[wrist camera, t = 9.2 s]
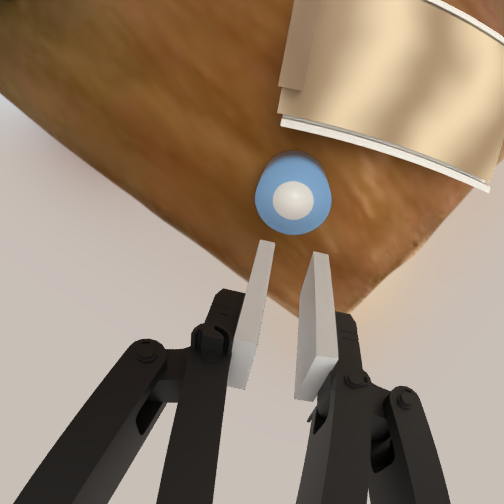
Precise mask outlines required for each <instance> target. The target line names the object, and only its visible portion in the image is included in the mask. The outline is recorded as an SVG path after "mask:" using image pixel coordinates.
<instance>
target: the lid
mask: <svg viewBox="0 0 504 504" xmlns="http://www.w3.org/2000/svg"><path fill="white" fill-rule="evenodd" d="M278 86H280V87H282V90H281V96H280V101H279V106H278V111H277V113H280V114H285V115H290V116H295V117H299V118H304V119H308V120H313V121H317V122H321V123H325V124H329V125H333V126H337V127H340V128H344V129H348V130H351V131H355V132H358V133H362V134H365V135H368V136H372V137H375V138H378V139H381V140H384V141H388V142H391V143H394V144H397V145H399V146H402V147H405V148H408V149H411V150H414V151H416V152H419V153H422V154H424V155H427V156H430V157H432V158H435V159H437V160H440V161H442V162H445V163H447V164H450V165H452V166H454V167H457V168H459V169H461V170H464V171H466V172H468V173H470V174H473V175H475V176H477V177H479V178H481V179H483V180H485V181H488V182H490V181H491V178H492V175H493V172H494V169H495V166H496V163H497V160H498V157H499V153H500V150H501V147H502V143H503V139H504V46H503V45H501V44H500V43H498V42H497V41H495V40H494V39H492V38H491V37H489V36H487V35H486V34H484V33H483V32H481V31H479V30H478V29H476V28H474V27H472V26H471V25H469V24H467V23H465V22H464V21H462V20H460V19H458V18H456V17H454V16H452V15H450V14H449V13H447V12H445V11H442V10H440V9H438V8H436V7H434V6H432V5H430V4H428V3H425V2H423V1H421V0H294V5H293V11H292V16H291V21H290V26H289V31H288V36H287V42H286V47H285V52H284V57H283V63H282V68H281V73H280V78H279V84H278Z"/></svg>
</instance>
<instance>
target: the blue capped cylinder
mask: <svg viewBox="0 0 504 504" xmlns="http://www.w3.org/2000/svg"><path fill="white" fill-rule="evenodd" d="M255 204H256V208H257V211H258V213H259V215H260V217H261V219H262V220H263V221H264V222H265V223H266V224H267V225H268V226H269V227H271V228H272V229H274V230H276V231H278V232H280V233H284V234H289V235H300V234H305V233H308V232H310V231H312V230H314V229H316V228H317V227H318V226H320V225H321V224H322V223H323V222H324V220H325V219H326V218H327V216H328V214H329V211H330V208H331V192H330V188H329V185H328V181H327V177H326V174H325V171H324V169H323V167H322V165H321V164H320V162H319V161H318V160H317V159H316V158H314V157H313V156H312V155H310V154H308V153H306V152H303V151H297V150H290V151H285V152H282V153H279V154H277V155H276V156H274V157H273V158H272V159H271V160H270V161H269V162H268V163H267V165H266V167H265V169H264V171H263V174H262V176H261V179H260V181H259V184H258V186H257V189H256V193H255Z"/></svg>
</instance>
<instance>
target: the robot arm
mask: <svg viewBox="0 0 504 504" xmlns="http://www.w3.org/2000/svg"><path fill="white" fill-rule="evenodd" d="M274 249H275V243H274V242H269V241H265V240H260V242H259V246H258V249H257V253H256V257H255V261H254V264H253V268H252V272H251V276H250V280H249V283H248V287H247V291H246V294H245V293H241V292H237V291H232V290H228V289H222V290H221V291H220V292H218V293H217V294H216V295H215V297H214V300H213V302H212V305H211V308H210V310H209V313H208V316H207V318H206V320H205V323H203V324H200V325H198V326H197V327H195V328H194V330H193V332H192V333H191V346H190V347H187V348H184V349H165V348H164V347H163V345H162V344H160V343H159V342H157V341H155V340H152V339H141V340H138V341H135V342H134V343H133V344H132V345H130V346H129V348H128V349H127V350H126V351H125V353H124V354H123V355H122V356H121V358H120V359H119V360H118V362H117V363H116V364H115V365H114V367H113V368H112V369H111V370H110V372H109V373H108V374H107V375H106V377H105V378H104V379H103V381H102V382H101V383H100V385H99V386H98V387H97V388H96V390H95V391H94V392H93V394H92V395H91V396H90V398H89V399H88V400H87V402H86V403H85V404H84V405H83V407H82V408H81V409H80V411H79V412H78V414H77V415H76V416H75V417H74V419H73V420H72V422H71V423H70V424H69V426H68V427H67V428H66V430H65V431H64V432H63V434H62V435H61V436H60V438H59V439H58V440H57V442H56V443H55V445H54V446H53V447H52V449H51V450H50V451H49V453H48V454H47V456H46V457H45V459H44V460H43V461H42V463H41V464H40V465H39V467H38V469H37V470H36V471H35V473H34V474H33V475H32V477H31V478H30V480H29V481H28V483H27V484H26V486H25V487H24V489H23V490H22V491H21V493H20V494H19V496H18V498H17V499H16V500H15V502H14V503H13V504H107V503H108V502H109V500H110V498H111V497H112V495H113V493H114V492H115V490H116V488H117V487H118V485H119V483H120V482H121V480H122V478H123V477H124V475H125V473H126V472H127V470H128V468H129V467H130V465H131V463H132V462H133V460H134V458H135V456H136V455H137V453H138V451H139V450H140V448H141V446H142V445H143V443H144V441H145V440H146V438H147V436H148V435H149V433H150V431H151V429H152V428H153V426H154V424H155V423H156V421H157V419H158V418H159V416H160V414H161V413H162V411H163V409H164V407H165V406H166V404H167V402H169V403H171V402H173V403H177V402H178V405H177V409H176V413H175V418H174V422H173V426H172V431H171V435H170V440H169V445H168V449H167V454H166V458H165V463H164V468H163V473H162V478H161V483H160V488H159V493H158V498H157V503H156V504H212V502H213V494H214V485H215V477H216V469H217V461H218V453H219V445H220V435H221V428H222V419H223V412H224V404H225V396H226V388H227V386H230V387H234V388H239V389H243V390H245V387H246V384H247V380H248V377H249V373H250V370H251V366H252V362H253V359H254V355H255V352H256V348H257V345H258V339H259V334H260V328H261V323H262V317H263V312H264V306H265V301H266V295H267V289H268V284H269V278H270V272H271V266H272V261H273V255H274ZM296 364H297V365H296V379H295V393H294V399H298V400H305V401H311V402H313V401H314V399H315V398H316V396H317V395H318V396H317V397H318V398H317V406H316V407H315V409H314V410H313V412H312V413H311V415H310V416H309V418H308V420H307V422H310V421H311V420H312V422H311V428H310V435H309V440H308V445H307V452H306V457H305V463H304V467H303V472H302V477H301V483H300V487H299V491H298V497H297V501H296V504H367V493H368V489H369V495H370V501H371V504H450V500H449V495H448V491H447V487H446V483H445V479H444V476H443V471H442V468H441V464H440V461H439V457H438V454H437V450H436V447H435V444H434V440H433V437H432V434H431V431H430V428H429V425H428V422H427V419H426V416H425V413H424V410H423V407H422V404H421V401H420V399H419V397H418V395H417V393H415V392H414V391H413V390H412V389H410V388H408V387H406V386H398V387H395V388H394V389H393V390H392V391H388V390H386V389H383V388H381V387H378V386H376V385H374V384H373V383H372V382H371V380H370V377H369V376H368V374H367V373H366V372H365V371H364V370H363V369H362V361H361V354H360V347H359V342H358V335H357V326H356V322H355V321H354V320H353V318H352V316H351V315H350V314H346V313H341V312H336V311H335V309H334V299H333V289H332V280H331V272H330V264H329V256H328V254H323V253H319V252H315V251H313V255H312V258H311V261H310V264H309V268H308V271H307V274H306V277H305V280H304V283H303V286H302V289H301V292H300V303H299V328H298V347H297V363H296Z"/></svg>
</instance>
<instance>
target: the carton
mask: <svg viewBox="0 0 504 504" xmlns="http://www.w3.org/2000/svg"><path fill="white" fill-rule="evenodd" d="M421 1H423V2H425V3H428V4H430V5H432V6H434V7H436V8H438V9H440V10H442V11H445V12H447V13H449V14H450V15H452V16H454V17H456V18H458V19H460V20H462V21H464V22H465V23H467V24H469V25H471V26H472V27H474V28H476V29H478V30H479V31H481V32H483V33H484V34H486V35H487V36H489V37H491V38H492V39H494V40H495V41H497V42H498V43H500V44H501V45H503V46H504V37H503V36H501V35H500V34H498V33H497V32H495V31H494V30H492V29H491V28H489V27H487V26H486V25H484V24H483V23H481V22H479V21H478V20H476V19H474V18H473V17H471V16H469V15H467V14H466V13H464V12H462V11H460V10H458V9H456V8H455V7H453V6H451V5H449V4H447V3H445V2H443V1H441V0H421ZM280 126H283V127H287V128H292V129H297V130H301V131H306V132H310V133H314V134H318V135H322V136H326V137H330V138H334V139H338V140H342V141H345V142H349V143H353V144H356V145H360V146H363V147H367V148H370V149H373V150H377V151H380V152H383V153H386V154H389V155H392V156H395V157H398V158H401V159H404V160H407V161H410V162H413V163H416V164H419V165H421V166H424V167H427V168H429V169H432V170H435V171H437V172H440V173H442V174H445V175H447V176H450V177H452V178H455V179H457V180H460V181H462V182H464V183H467V184H469V185H471V186H474V187H476V188H478V189H480V190H483V191H485V192H487V193H489V191H490V188H491V187H490V186H488V185H487V184H486V183H485V180H483V179H481V178H479V177H477V176H475V175H473V174H470V173H468V172H466V171H464V170H461V169H459V168H457V167H454V166H452V165H450V164H447V163H445V162H442V161H440V160H437V159H435V158H432V157H430V156H427V155H424V154H422V153H419V152H416V151H414V150H411V149H408V148H405V147H402V146H399V145H397V144H394V143H391V142H388V141H384V140H381V139H378V138H375V137H372V136H368V135H365V134H362V133H358V132H355V131H351V130H348V129H344V128H340V127H337V126H333V125H329V124H325V123H321V122H317V121H313V120H308V119H304V118H299V117H295V116H290V115H285V114H283V117H282V120H281V125H280Z"/></svg>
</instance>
